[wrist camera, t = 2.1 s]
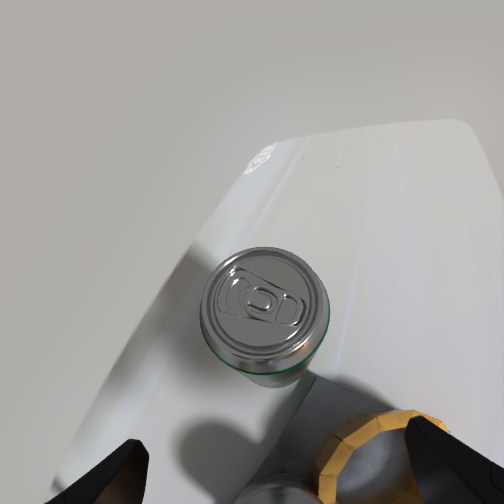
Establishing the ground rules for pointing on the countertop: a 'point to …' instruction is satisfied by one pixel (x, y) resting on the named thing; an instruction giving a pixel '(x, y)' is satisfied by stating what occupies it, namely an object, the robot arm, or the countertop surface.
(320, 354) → the countertop surface
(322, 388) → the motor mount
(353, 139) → the countertop surface
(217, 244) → the countertop surface
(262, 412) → the countertop surface
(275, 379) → the soda can
